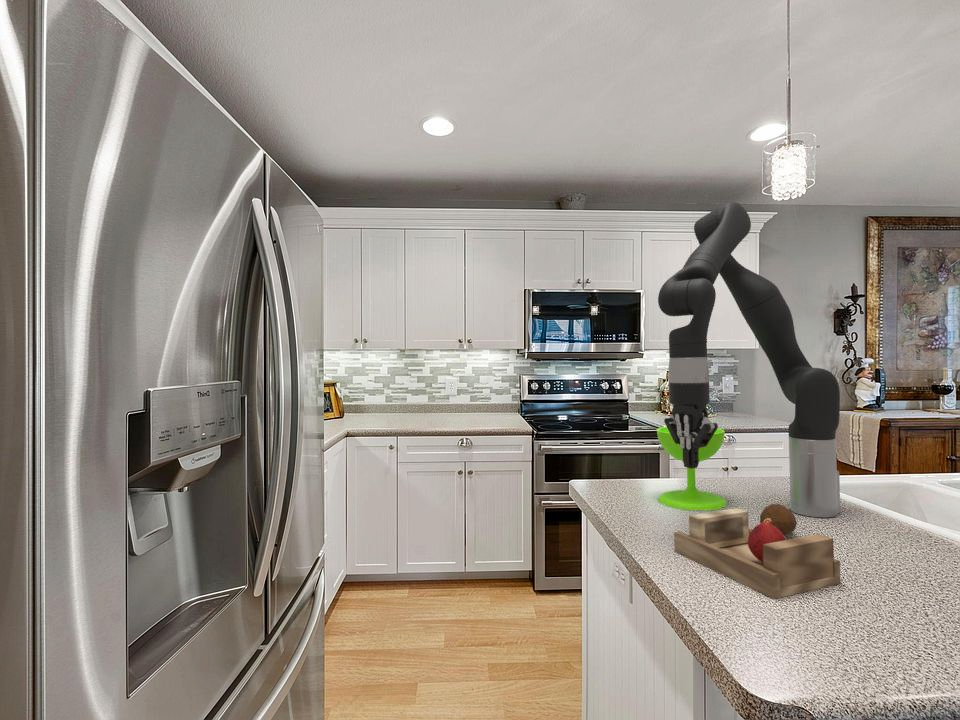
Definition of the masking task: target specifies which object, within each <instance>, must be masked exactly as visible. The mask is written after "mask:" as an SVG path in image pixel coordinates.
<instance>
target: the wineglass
mask: <svg viewBox="0 0 960 720" xmlns="http://www.w3.org/2000/svg"><path fill="white" fill-rule="evenodd" d="M684 432H685V431H684ZM725 433H726V432H725V430H724V429H721V428H719V427H718V428H717V430H716V431H715V433H714V435H713V436H712V438H711V439H710V441H709V443H708V444H707V446H706V447H701V448H699V450H698V455H699V463H700V462H703V461H707V460H708V459H710V458H711V457H713V456H715V454H717V453H718V451H719V450H720V449H721V448H722V445H723V443H724V439H725ZM656 434H657V439H658V441H659V444H660V445H661V447H662V448H663V449H664V451H665V452H666V453H667V455H670V456H671V457H673V458H674V459H676V460H679V461H681V462H683V448H681V446H680V445H679V444H675V442H674V440H673V438H672V436H671V434H670V432H669V430H668V428H667V426H665V427H659V428H657V429H656ZM678 437H679V436H678ZM679 438H680V437H679ZM686 476H687V477H686V479H687V480H686V481H687V482H686V483H687V484H686V485H687V487H686V488H685V489H683V490H671V491H667V492H666V491H665V492H664V493H662V494H661V495H660V496H659V497H658V502H659V501H660V502H661V503H660V502H659V503H660V504H662V503H663V504H662V505H664V504H665V505H664V506H666V505H667V506H666V507H669V506H670V507H669V508H673V507H674V508H673V509H678V508H679V510H684V509H685V510H686V511H695V510H707V511H714V510H715V509H717V510H720V508H721V509H723V508H722V507H724V506H725V507H727V506H726V504H727V501H726V500H725V498H723V497H722V496H720V495H717V494H714V493H712V492H707V491H701V490H698V489H697V487H696V468H691V469H690V468H687V467H686ZM725 507H724V508H725ZM715 511H716V510H715Z"/></svg>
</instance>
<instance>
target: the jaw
mask: <svg viewBox="0 0 960 720" xmlns="http://www.w3.org/2000/svg"><path fill="white" fill-rule="evenodd" d="M688 524H689V525H688V527H689V530H688V531H689V532H688V533H689V534H688V535H689V536H692V537H694V538H696V539H699V540H701V541H704V542H706V543H708V544H711V545H713V546H715V547H718V548H720V547H726V546H731V545H737V544H742V543H748V537H749V529H750V527H749V526H750V524H749V510H745V509H741V508H740V507H739V508H738V507H736V508H730V509H723V510H717V511H716V510H715V511H710V512H709V511H708V512H703V513H698V514H697V513H695V514H692V515H691V514H690V515H688Z"/></svg>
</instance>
